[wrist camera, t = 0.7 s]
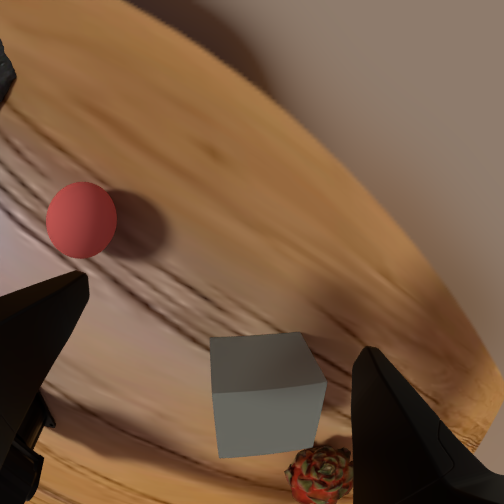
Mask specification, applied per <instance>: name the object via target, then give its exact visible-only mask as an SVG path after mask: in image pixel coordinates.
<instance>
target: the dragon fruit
mask: <svg viewBox="0 0 504 504" xmlns="http://www.w3.org/2000/svg"><path fill="white" fill-rule="evenodd" d="M350 455H351V451H349V450H348V449H347V448H344V447H343V448H342V449H337V450H334V449H333V448H332V447H330V446H323V447H320V448H319V447H315V448H308V449H304V450H302V451H300V452H299V453H298V454H297V455H296V458H295V463H294V464H293V465H292V466H291V464H290V466H289V468H288V469H287V470H286V471H284V472H285V476H286V478H287V481H288V483H289V485H290V486H291V489H292V496H293V498H294V499H295V500H296V501H297V502H299V503H301V504H310V503H314V504H336V503H337V500H338V499H340V498H341V497H342V496H344V495H346V494H348V493H349V492H350V490H351V489H352V488H353V461H351V462H349V460H350Z"/></svg>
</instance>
